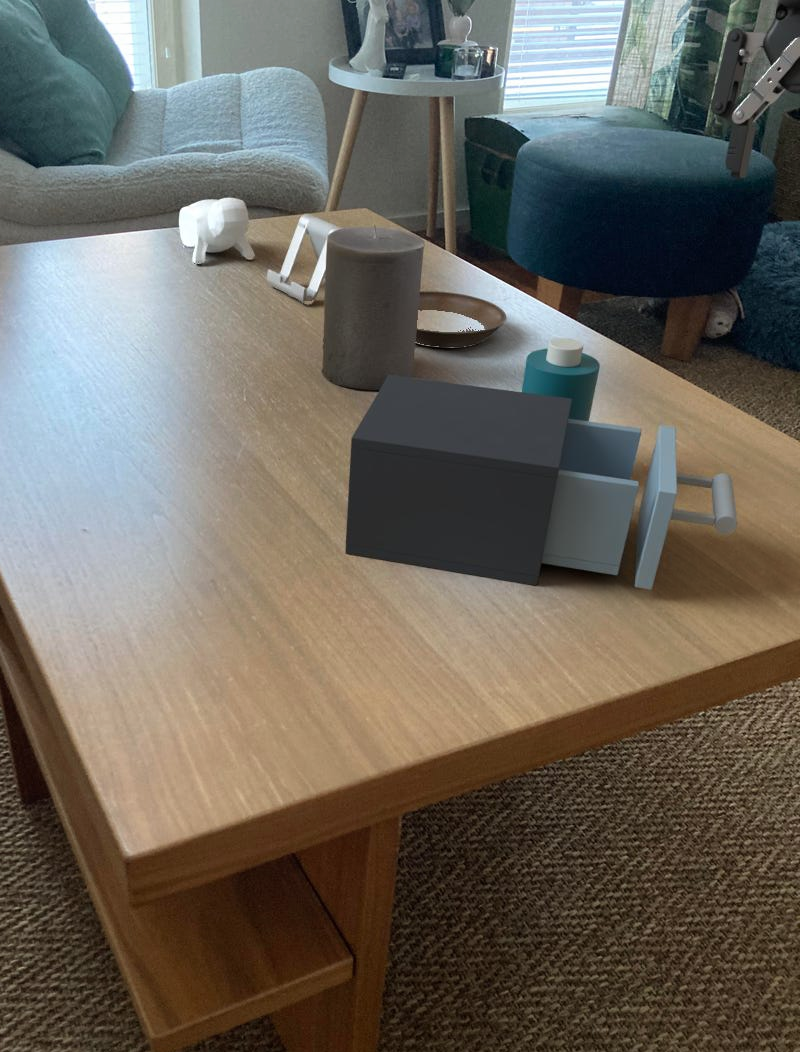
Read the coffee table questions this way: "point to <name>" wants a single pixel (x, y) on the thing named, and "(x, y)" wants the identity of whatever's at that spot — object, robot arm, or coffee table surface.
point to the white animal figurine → (215, 227)
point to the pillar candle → (370, 305)
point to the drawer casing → (455, 477)
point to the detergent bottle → (563, 375)
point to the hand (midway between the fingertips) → (793, 179)
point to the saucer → (465, 306)
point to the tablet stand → (318, 238)
